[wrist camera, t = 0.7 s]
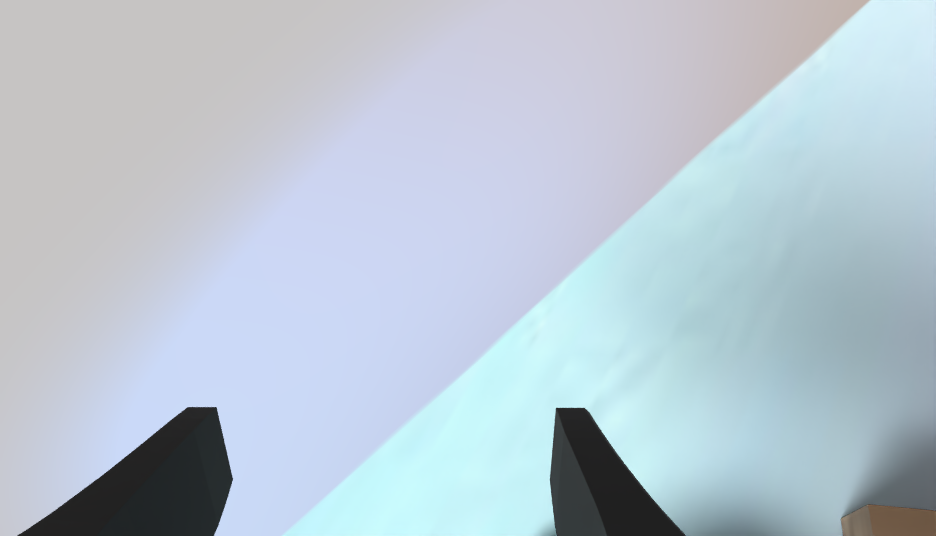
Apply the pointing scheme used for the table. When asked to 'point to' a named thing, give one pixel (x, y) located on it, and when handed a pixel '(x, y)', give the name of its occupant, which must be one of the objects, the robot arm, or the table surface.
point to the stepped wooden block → (889, 522)
